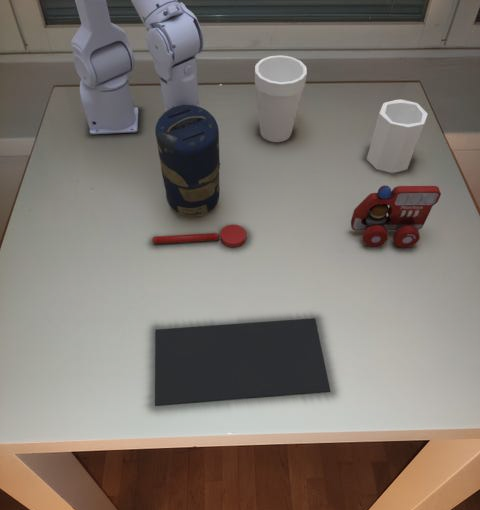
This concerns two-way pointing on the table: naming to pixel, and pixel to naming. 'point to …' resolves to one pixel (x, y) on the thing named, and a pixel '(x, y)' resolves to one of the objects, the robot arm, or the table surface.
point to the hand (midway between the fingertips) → (187, 169)
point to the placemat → (238, 361)
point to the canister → (189, 159)
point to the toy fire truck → (394, 214)
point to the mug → (396, 135)
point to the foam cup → (278, 95)
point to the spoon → (209, 237)
